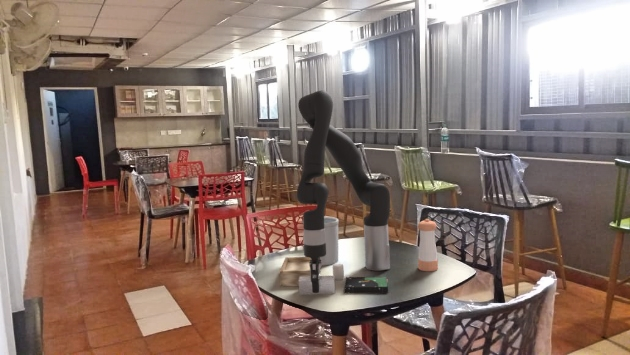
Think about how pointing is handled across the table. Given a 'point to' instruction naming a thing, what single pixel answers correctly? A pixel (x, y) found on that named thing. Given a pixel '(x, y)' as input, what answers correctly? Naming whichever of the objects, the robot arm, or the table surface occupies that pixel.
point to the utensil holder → (330, 241)
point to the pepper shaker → (427, 246)
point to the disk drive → (366, 285)
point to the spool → (338, 271)
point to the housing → (324, 285)
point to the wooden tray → (294, 270)
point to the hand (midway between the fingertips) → (316, 288)
